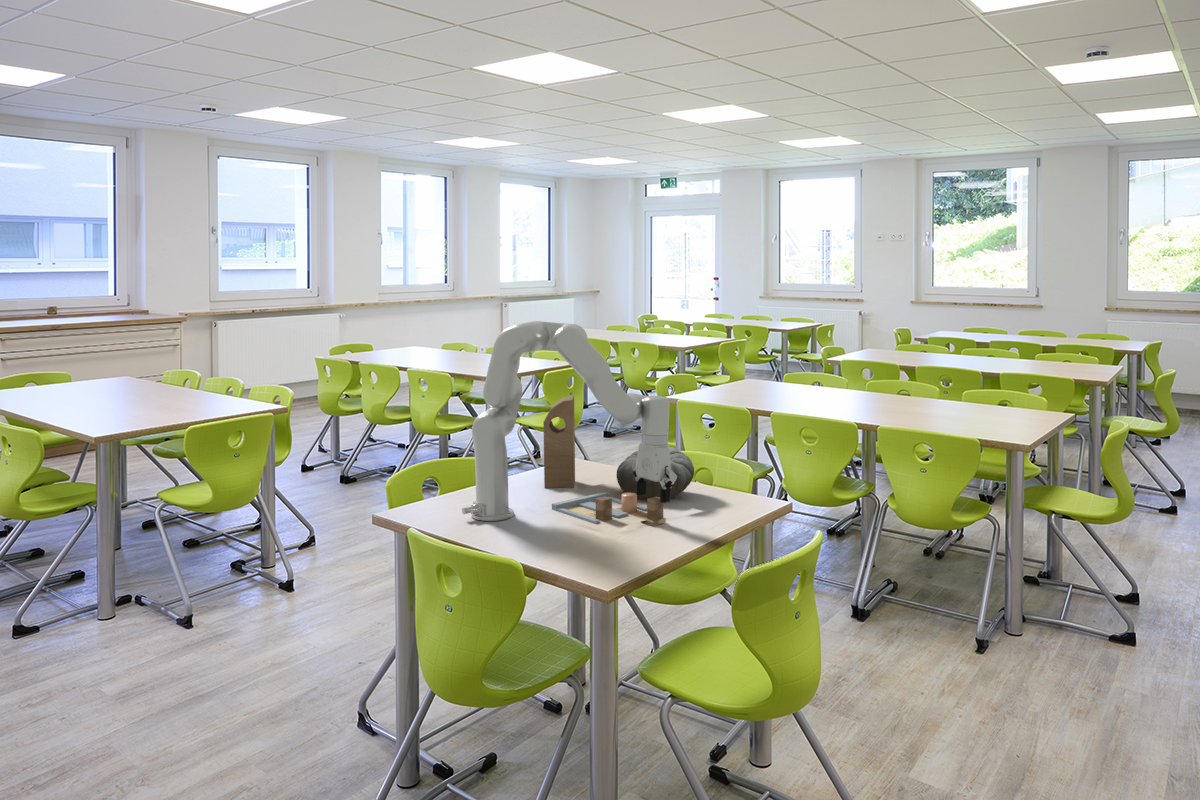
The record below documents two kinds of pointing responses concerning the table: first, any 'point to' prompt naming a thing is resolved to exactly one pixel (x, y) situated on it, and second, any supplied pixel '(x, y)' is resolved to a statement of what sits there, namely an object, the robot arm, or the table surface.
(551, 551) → the table surface
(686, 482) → the gourd
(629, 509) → the peach rounded cylinder
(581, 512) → the lane frame
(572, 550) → the table surface
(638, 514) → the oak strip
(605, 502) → the brown wooden block
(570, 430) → the decorative block
